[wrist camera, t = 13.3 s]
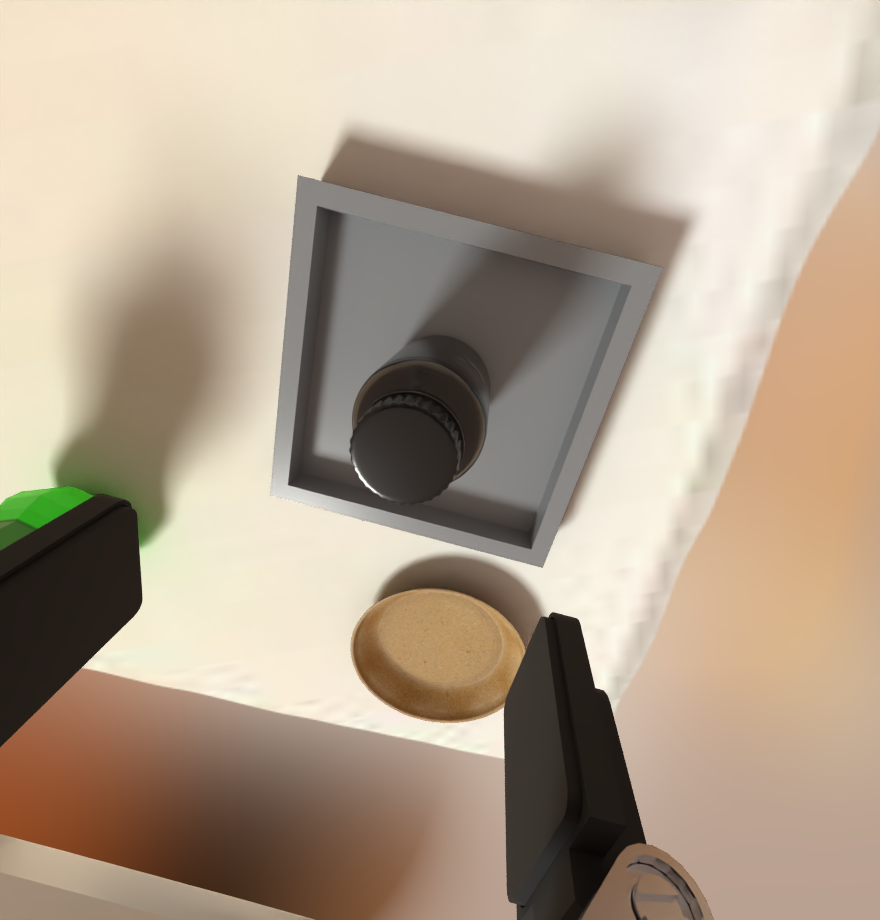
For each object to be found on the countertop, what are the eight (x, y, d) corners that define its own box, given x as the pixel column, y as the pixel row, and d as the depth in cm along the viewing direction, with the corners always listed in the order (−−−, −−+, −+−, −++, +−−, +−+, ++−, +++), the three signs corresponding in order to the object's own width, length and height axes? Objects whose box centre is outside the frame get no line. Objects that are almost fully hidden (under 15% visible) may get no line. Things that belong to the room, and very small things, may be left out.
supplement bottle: (382, 337, 29) (310, 377, 18) (488, 329, 28) (481, 367, 17) (395, 437, 32) (339, 526, 21) (493, 433, 31) (489, 524, 20)
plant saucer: (535, 578, 36) (538, 600, 34) (516, 707, 42) (517, 734, 40) (356, 560, 38) (346, 579, 35) (361, 687, 43) (353, 712, 41)
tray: (318, 184, 27) (297, 175, 24) (645, 267, 26) (662, 267, 24) (287, 477, 35) (270, 495, 32) (538, 544, 35) (542, 567, 32)
